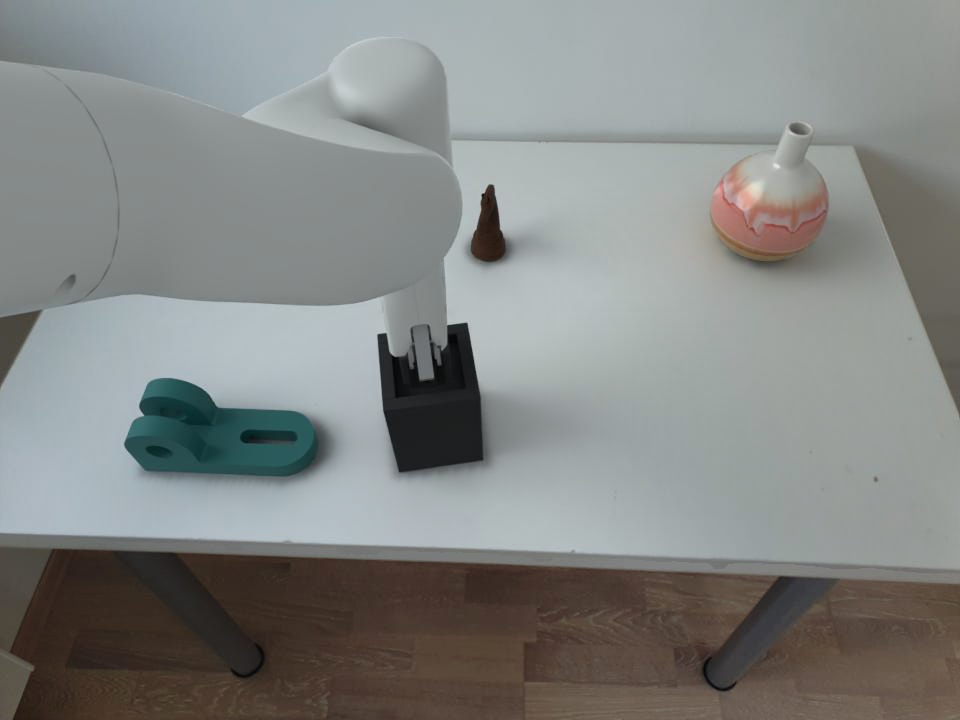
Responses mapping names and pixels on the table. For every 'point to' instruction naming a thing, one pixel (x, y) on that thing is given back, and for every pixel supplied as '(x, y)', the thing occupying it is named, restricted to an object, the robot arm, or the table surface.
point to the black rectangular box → (433, 409)
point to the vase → (772, 200)
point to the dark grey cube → (445, 353)
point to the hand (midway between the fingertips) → (425, 359)
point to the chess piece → (488, 230)
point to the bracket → (215, 434)
